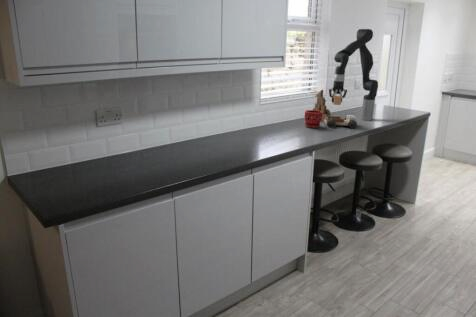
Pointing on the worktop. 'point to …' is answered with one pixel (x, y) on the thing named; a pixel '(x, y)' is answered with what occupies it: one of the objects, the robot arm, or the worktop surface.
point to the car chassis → (340, 121)
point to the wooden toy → (321, 105)
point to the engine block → (337, 100)
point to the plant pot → (313, 121)
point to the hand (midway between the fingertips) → (336, 102)
